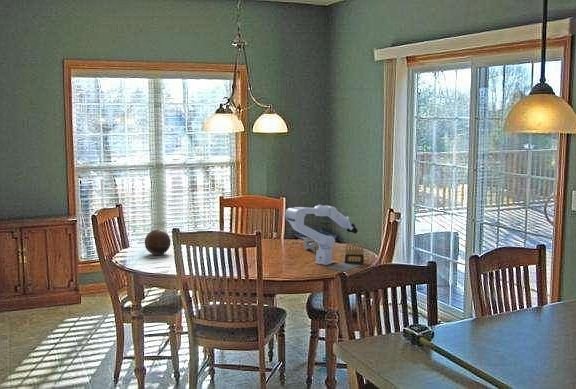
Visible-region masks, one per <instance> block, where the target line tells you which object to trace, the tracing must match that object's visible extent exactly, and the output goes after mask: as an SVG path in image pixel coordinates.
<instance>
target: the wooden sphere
mask: <svg viewBox="0 0 576 389" xmlns="http://www.w3.org/2000/svg"><path fill="white" fill-rule="evenodd" d="M144 245H145V247H144V248H145V249H146V250H147V252H148V253H149V254H152V255H155V256H160V255H163V254H165V253H166V252H168V251H169V249H170V247H171V238H170V236H169V234H168V233H167V232H166V231H164V230H162V229H154V230H151V231H149V233H147V235H146V236H145V238H144Z"/></svg>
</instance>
